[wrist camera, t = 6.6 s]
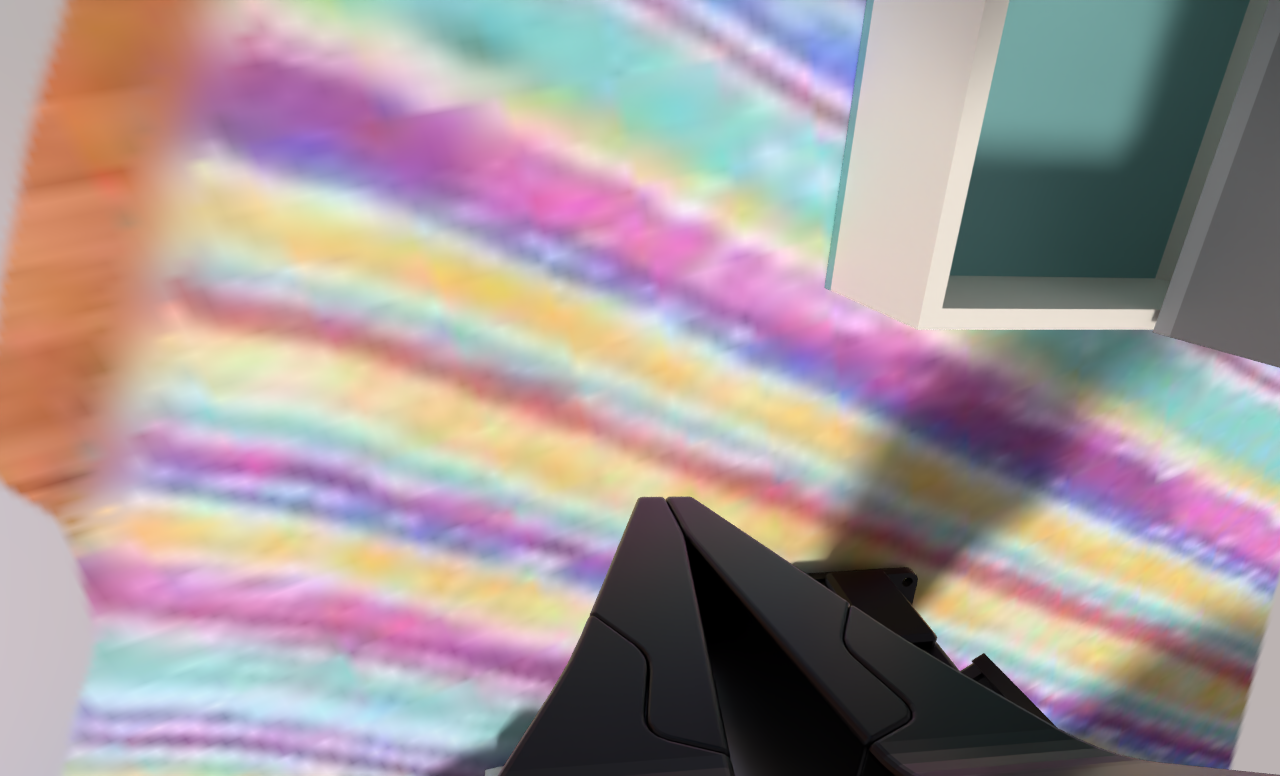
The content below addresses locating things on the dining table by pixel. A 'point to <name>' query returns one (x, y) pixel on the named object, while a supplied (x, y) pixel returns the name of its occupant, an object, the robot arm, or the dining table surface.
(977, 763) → the robot arm
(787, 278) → the dining table surface
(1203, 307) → the lid
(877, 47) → the box
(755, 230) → the dining table surface
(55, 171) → the dining table surface
